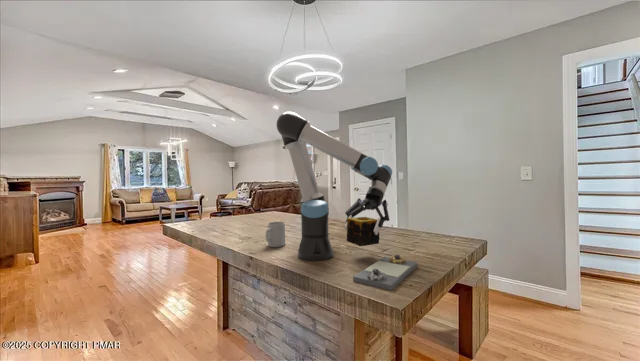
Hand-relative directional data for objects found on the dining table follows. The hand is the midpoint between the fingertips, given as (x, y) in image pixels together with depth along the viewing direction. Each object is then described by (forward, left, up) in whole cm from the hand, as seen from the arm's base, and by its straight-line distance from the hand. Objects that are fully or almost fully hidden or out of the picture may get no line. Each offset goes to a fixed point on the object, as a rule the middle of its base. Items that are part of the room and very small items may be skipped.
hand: (360, 231), depth 113 cm
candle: (0, +2, -5) cm, 6 cm away
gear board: (+16, -10, -11) cm, 22 cm away
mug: (-45, -5, -12) cm, 47 cm away
